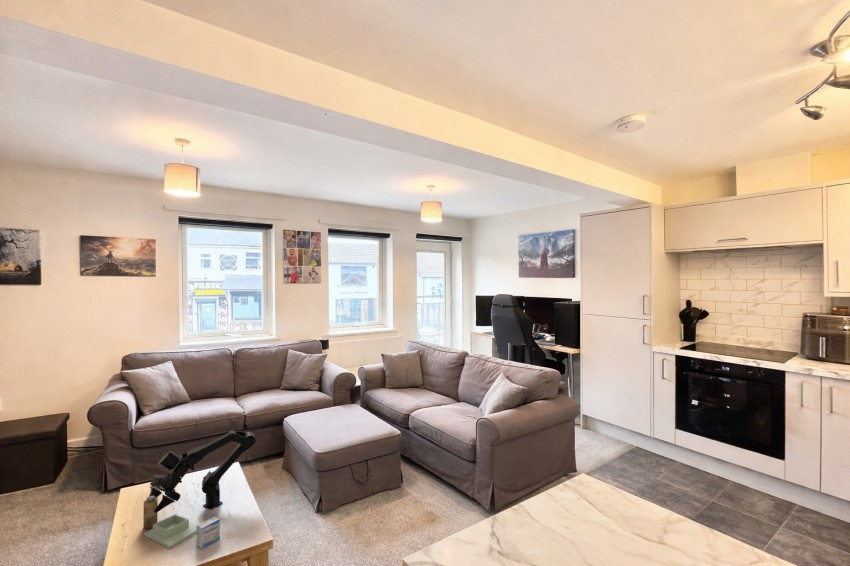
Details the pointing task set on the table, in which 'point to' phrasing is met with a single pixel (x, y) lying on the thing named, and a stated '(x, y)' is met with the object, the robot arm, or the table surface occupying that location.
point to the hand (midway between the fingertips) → (150, 509)
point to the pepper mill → (150, 512)
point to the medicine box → (208, 532)
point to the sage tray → (172, 530)
